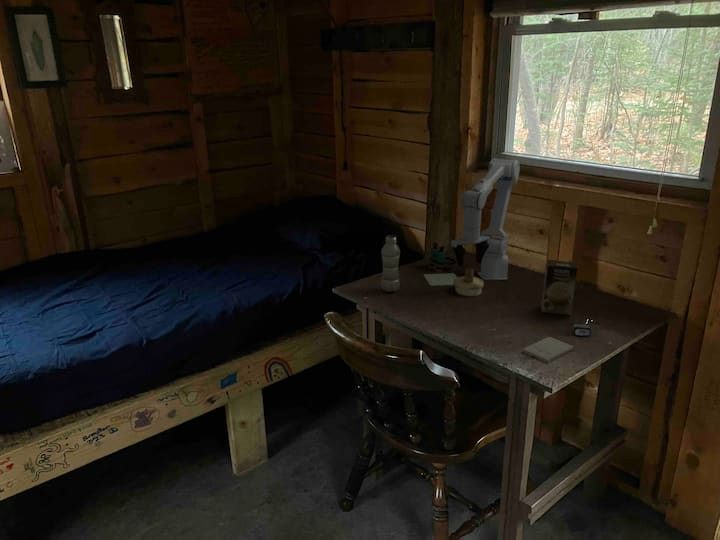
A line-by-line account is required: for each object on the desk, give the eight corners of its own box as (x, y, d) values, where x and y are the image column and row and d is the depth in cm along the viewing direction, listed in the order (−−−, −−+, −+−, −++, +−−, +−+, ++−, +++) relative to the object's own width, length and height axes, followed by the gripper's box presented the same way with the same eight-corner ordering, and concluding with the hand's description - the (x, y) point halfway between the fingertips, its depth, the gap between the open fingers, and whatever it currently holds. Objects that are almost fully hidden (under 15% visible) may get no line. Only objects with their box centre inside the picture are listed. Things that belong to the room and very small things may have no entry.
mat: (453, 274, 215) (454, 273, 215) (462, 285, 204) (462, 284, 204) (423, 275, 214) (423, 274, 214) (430, 287, 203) (430, 285, 203)
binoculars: (461, 246, 217) (439, 247, 213) (457, 272, 220) (436, 274, 216) (448, 240, 225) (427, 241, 220) (445, 266, 228) (424, 267, 223)
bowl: (476, 288, 202) (476, 280, 201) (483, 296, 194) (484, 288, 193) (453, 288, 201) (453, 281, 200) (459, 297, 193) (460, 289, 192)
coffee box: (541, 312, 181) (546, 265, 176) (540, 304, 187) (546, 259, 182) (571, 315, 179) (577, 267, 174) (570, 307, 185) (576, 261, 180)
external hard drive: (573, 351, 157) (547, 364, 150) (547, 341, 163) (521, 353, 156) (573, 346, 157) (547, 359, 149) (548, 336, 163) (522, 348, 155)
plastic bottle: (402, 292, 198) (404, 238, 191) (385, 295, 196) (386, 240, 189) (395, 286, 204) (396, 233, 197) (377, 289, 201) (378, 235, 195)
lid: (471, 277, 204) (472, 262, 202) (489, 286, 195) (490, 271, 193) (447, 282, 199) (448, 266, 197) (465, 291, 190) (466, 276, 188)
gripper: (482, 221, 197) (480, 258, 201) (447, 225, 191) (445, 263, 196) (494, 226, 191) (491, 264, 195) (458, 230, 185) (456, 269, 190)
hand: (469, 264), depth 195 cm, fingers open, 7 cm apart
